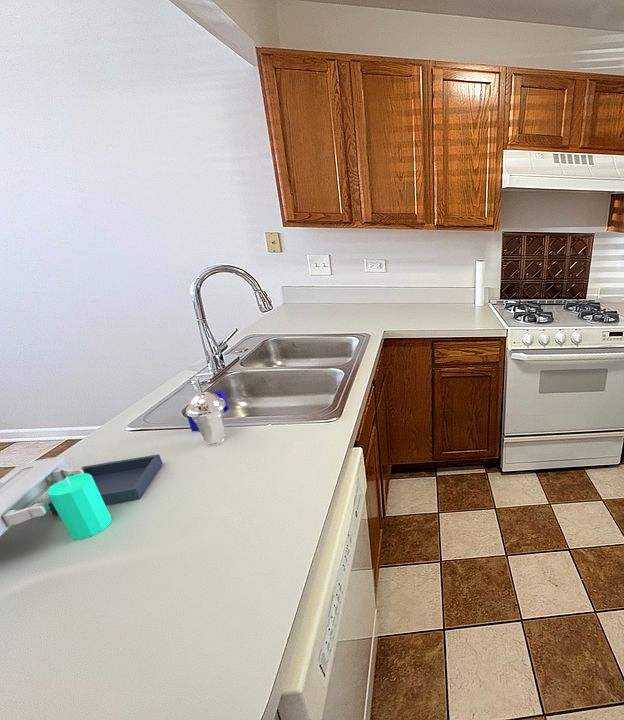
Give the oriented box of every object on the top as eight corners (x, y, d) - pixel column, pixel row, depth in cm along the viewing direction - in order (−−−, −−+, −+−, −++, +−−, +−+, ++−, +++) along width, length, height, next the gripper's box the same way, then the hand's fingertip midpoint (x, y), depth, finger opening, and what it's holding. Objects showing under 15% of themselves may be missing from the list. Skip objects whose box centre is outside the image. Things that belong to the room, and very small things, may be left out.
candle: (110, 511, 80) (88, 462, 76) (113, 527, 76) (89, 477, 72) (69, 527, 76) (43, 476, 72) (70, 545, 72) (42, 493, 68)
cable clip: (214, 409, 119) (209, 391, 116) (229, 409, 119) (224, 391, 116) (186, 431, 108) (180, 411, 105) (202, 431, 107) (196, 412, 105)
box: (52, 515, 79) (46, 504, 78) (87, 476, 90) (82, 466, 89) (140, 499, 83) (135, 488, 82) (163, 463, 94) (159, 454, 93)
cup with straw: (225, 428, 109) (206, 361, 101) (242, 439, 104) (223, 369, 96) (191, 443, 102) (167, 372, 95) (206, 455, 97) (183, 382, 90)
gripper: (24, 480, 81) (104, 469, 84) (-77, 563, 62) (30, 546, 66) (10, 454, 78) (93, 444, 81) (-100, 533, 60) (13, 516, 63)
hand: (64, 490), depth 73 cm, fingers open, 8 cm apart
